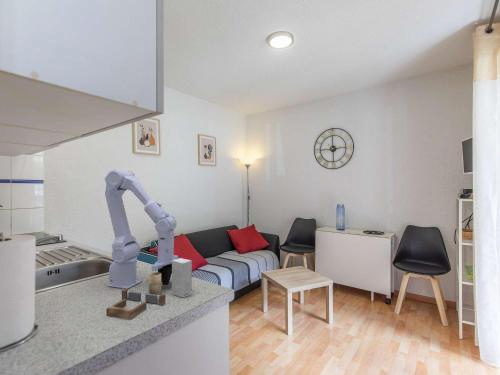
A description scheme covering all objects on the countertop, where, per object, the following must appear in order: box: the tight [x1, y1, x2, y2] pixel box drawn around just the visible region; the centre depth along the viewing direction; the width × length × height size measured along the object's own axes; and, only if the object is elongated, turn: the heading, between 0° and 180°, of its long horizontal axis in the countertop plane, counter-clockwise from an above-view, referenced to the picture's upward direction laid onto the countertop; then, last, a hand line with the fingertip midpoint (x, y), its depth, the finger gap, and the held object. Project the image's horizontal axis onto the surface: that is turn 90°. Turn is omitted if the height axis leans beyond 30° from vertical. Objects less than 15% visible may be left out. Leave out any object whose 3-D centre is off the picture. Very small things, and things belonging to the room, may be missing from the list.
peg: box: [148, 271, 162, 295], centre depth 93 cm, size 4×4×7 cm
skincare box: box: [171, 257, 193, 298], centre depth 93 cm, size 6×4×12 cm
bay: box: [106, 299, 147, 321], centre depth 80 cm, size 8×7×2 cm
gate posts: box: [121, 288, 166, 306], centre depth 87 cm, size 16×1×3 cm, turn 75°
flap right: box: [144, 293, 159, 305], centre depth 86 cm, size 5×1×3 cm, turn 75°
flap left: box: [126, 290, 142, 302], centre depth 88 cm, size 5×1×3 cm, turn 75°
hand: (165, 284), depth 99 cm, fingers closed
